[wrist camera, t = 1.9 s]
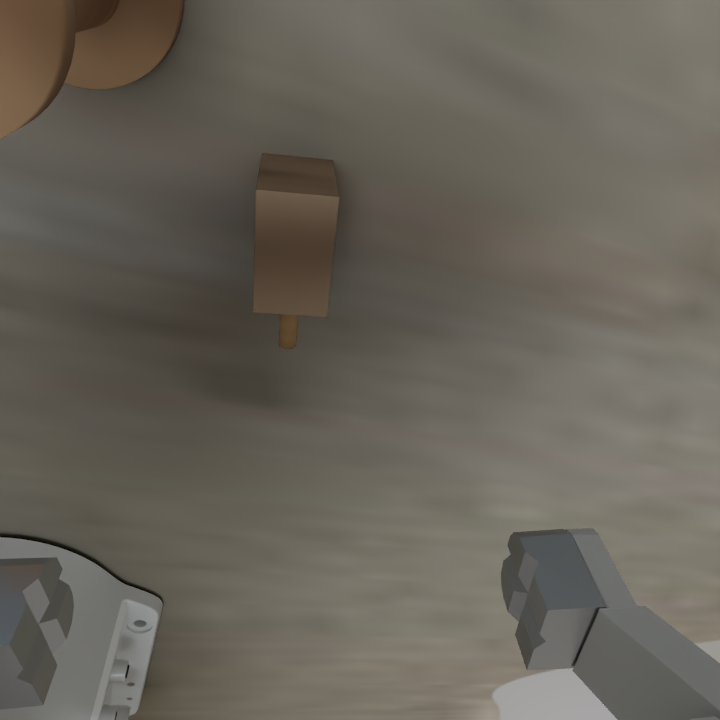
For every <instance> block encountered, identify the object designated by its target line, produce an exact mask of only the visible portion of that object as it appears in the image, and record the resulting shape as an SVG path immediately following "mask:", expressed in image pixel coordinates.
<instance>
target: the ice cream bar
mask: <svg viewBox="0 0 720 720" xmlns="http://www.w3.org/2000/svg"><path fill="white" fill-rule="evenodd" d="M339 198H340V197H339V192H338V186H337V181H336V176H335V170H334V165H333V160H324V159H314V158H304V157H294V156H284V155H274V154H264V153H263V154H262V160H261V165H260V170H259V175H258V181H257V186H256V203H255V248H254V292H253V313H269V314H280V333H279V346H280V347H282V348H284V349H292V348H294V347H295V346H296V338H297V324H298V315H301V316H318V317H327V315H328V305H329V295H330V286H331V276H332V266H333V256H334V247H335V237H336V227H337V217H338V208H339Z"/></svg>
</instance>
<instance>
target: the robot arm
mask: <svg viewBox="0 0 720 720" xmlns="http://www.w3.org/2000/svg"><path fill="white" fill-rule="evenodd" d="M508 548H509V551H510V554H511V555H510V556H509V557H507V558H506V559H505V560H504V561H503V566H502V571H501V585H502V592H503V597H504V601H505V604H506V607H507V610H508V612H509V613H510V614H511V615H512V616H513V617H514V618H515V619H516V620H518V621H519V624H518V627H517V630H516V634H515V635H516V638H517V641H518V644H519V647H520V650H521V654H522V657H523V660H524V663H525V666H526V669H527V670H542V669H564V668H574V669H573V671H574V673H576V675H577V676H578V677H579V678H580V679H581V680H582V681H583V682H584V683H585V685H586V686H587V687H589V689H590V690H591V691H592V692H593V693H594V694H595V695H596V696H597V698H599V700H600V701H601V702H602V703H603V704H604V705H605V706H606V707H607V708H608V710H609V711H610V712H611V713H612V714H613V715H614V716H615V717H616V718H617V719H618V720H720V663H718V662H717V661H716V660H715V659H713V658H712V657H711V656H710V655H708V654H707V653H706V652H704V651H703V650H702V649H700V648H699V647H698V646H696V645H695V644H694V643H693V642H691V641H690V640H689V639H687V638H686V637H685V636H684V635H682V634H681V633H680V632H678V631H677V630H676V629H674V628H673V627H672V626H671V625H669V624H668V623H667V622H665V621H664V620H663V619H661V618H660V617H659V616H658V615H656V614H655V613H654V612H652V611H651V610H650V609H648V608H647V607H646V606H637V605H636V603H635V601H634V599H633V597H632V596H631V594H630V592H629V590H628V588H627V586H626V584H625V583H624V581H623V579H622V577H621V575H620V573H619V571H618V570H617V568H616V566H615V564H614V562H613V560H612V558H611V557H610V555H609V553H608V551H607V549H606V547H605V545H604V544H603V542H602V540H601V538H600V536H599V534H598V533H597V532H596V531H595V530H594V529H593V528H583V529H567V530H564V529H556V530H541V531H526V532H514V533H513V534H512V535H511V536H510V538H509V542H508ZM162 608H163V603H162V601H161V600H160V599H159V598H158V597H156V596H154V595H152V594H150V593H148V592H145V591H143V590H140V589H137V588H134V587H131V586H128V585H125V584H124V583H122V582H120V581H119V580H117V579H116V578H114V577H113V576H112V575H110V574H109V573H108V572H107V571H105V570H104V569H103V568H101V567H100V566H98V565H97V564H95V563H93V562H92V561H90V560H88V559H86V558H84V557H82V556H80V555H78V554H75V553H73V552H70V551H68V550H65V549H62V548H59V547H56V546H53V545H49V544H45V543H41V542H36V541H31V540H24V539H16V538H4V537H0V720H129V716H131V715H133V714H135V713H136V712H137V710H138V708H139V705H140V702H141V699H142V695H143V690H144V686H145V682H146V677H147V673H148V669H149V664H150V660H151V656H152V651H153V647H154V643H155V638H156V634H157V630H158V625H159V621H160V617H161V612H162Z"/></svg>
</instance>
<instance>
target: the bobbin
mask: <svg viewBox="0 0 720 720" xmlns="http://www.w3.org/2000/svg"><path fill="white" fill-rule="evenodd" d="M183 9H184V0H0V138H3V137H5V136H7V135H8V134H10V133H12V132H14V131H15V130H17V129H19V128H21V127H22V126H24V125H26V124H27V123H29V122H30V121H32V120H34V119H35V118H36V117H37V116H39V115H40V114H41V113H42V112H43V111H44V110H45V109H46V108H47V107H48V106H49V105H50V104H51V102H52V101H53V100H54V98H55V97H56V96H57V95H58V93H59V91H60V89H61V87H62V85H63V84H64V83H65V84H68V85H72V86H75V87H80V88H86V89H111V88H116V87H120V86H124V85H127V84H129V83H132V82H134V81H136V80H138V79H139V78H141V77H143V76H144V75H146V74H147V73H149V72H150V71H152V70H153V69H154V68H155V67H156V66H157V65H158V64H160V63H161V61H162V60H163V59H164V58H165V57H166V55H167V54H168V52H169V51H170V49H171V48H172V46H173V44H174V42H175V40H176V37H177V35H178V33H179V29H180V25H181V22H182V16H183Z"/></svg>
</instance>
